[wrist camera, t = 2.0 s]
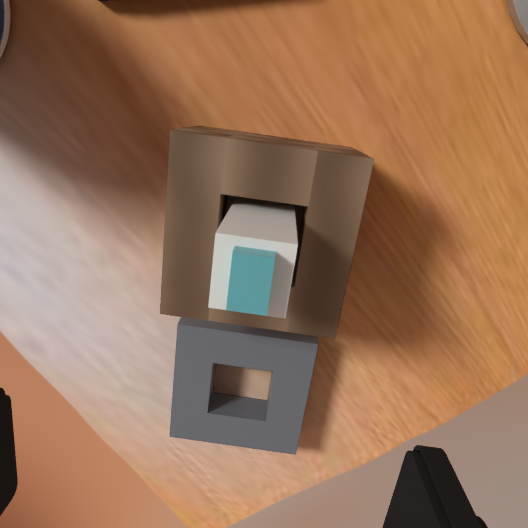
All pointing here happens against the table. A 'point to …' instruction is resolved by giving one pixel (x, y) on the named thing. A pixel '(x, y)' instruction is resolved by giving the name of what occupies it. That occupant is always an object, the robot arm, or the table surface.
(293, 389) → the lower socket plate
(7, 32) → the supplement tub
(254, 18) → the table surface
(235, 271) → the plug peg
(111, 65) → the table surface
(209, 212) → the upper socket tower
